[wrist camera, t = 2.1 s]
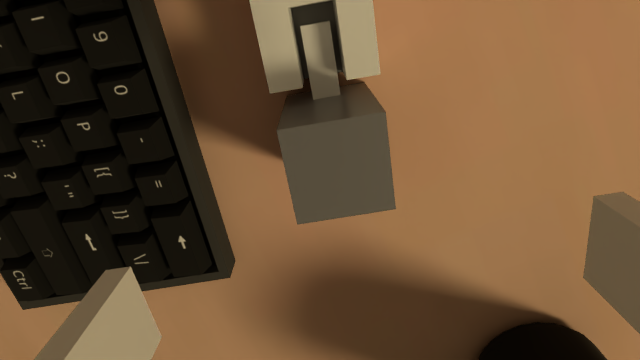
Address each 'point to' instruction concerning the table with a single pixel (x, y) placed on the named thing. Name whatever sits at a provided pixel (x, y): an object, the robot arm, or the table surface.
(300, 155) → the charger
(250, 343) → the table surface
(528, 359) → the coffee jar
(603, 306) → the table surface
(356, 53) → the strip
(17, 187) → the computer keyboard
